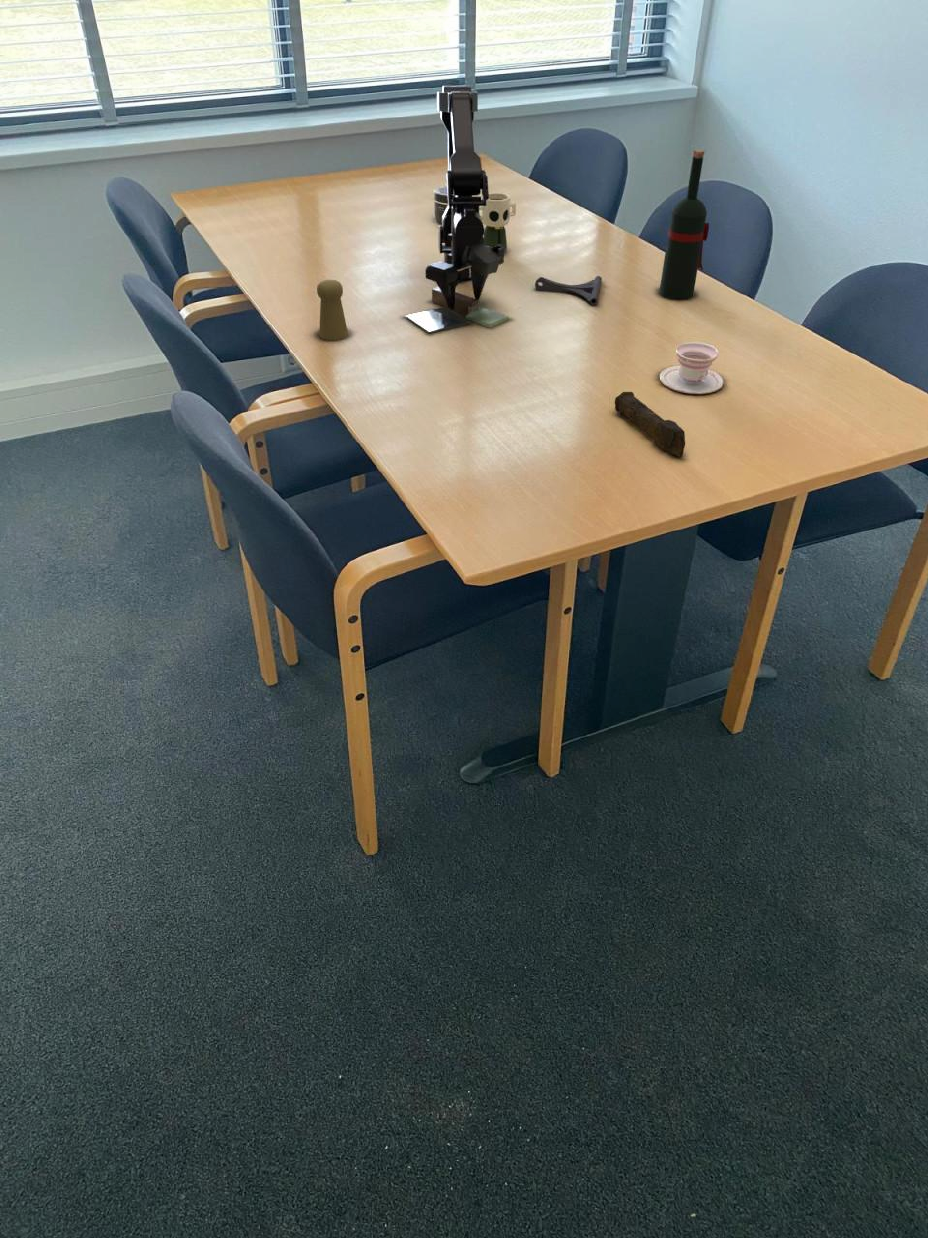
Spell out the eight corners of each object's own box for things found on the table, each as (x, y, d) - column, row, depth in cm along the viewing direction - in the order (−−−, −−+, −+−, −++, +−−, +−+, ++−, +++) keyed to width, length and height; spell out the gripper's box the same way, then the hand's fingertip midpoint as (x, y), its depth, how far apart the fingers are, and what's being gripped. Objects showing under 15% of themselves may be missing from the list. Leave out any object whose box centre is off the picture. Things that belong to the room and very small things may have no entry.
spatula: (426, 304, 204) (426, 290, 202) (445, 297, 208) (445, 283, 206) (489, 327, 194) (490, 313, 192) (508, 319, 198) (508, 306, 196)
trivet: (405, 317, 198) (405, 315, 198) (445, 308, 202) (445, 306, 202) (429, 333, 192) (429, 331, 191) (469, 324, 196) (469, 321, 195)
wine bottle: (708, 294, 210) (734, 151, 191) (673, 302, 207) (696, 157, 187) (686, 283, 216) (709, 143, 196) (652, 290, 212) (672, 148, 193)
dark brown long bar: (612, 412, 165) (614, 388, 162) (631, 408, 166) (634, 385, 163) (666, 462, 152) (671, 437, 149) (687, 458, 153) (692, 433, 150)
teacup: (709, 401, 169) (716, 369, 165) (649, 385, 174) (654, 354, 170) (731, 377, 177) (738, 346, 173) (673, 362, 182) (678, 332, 178)
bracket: (538, 278, 218) (539, 266, 216) (601, 282, 215) (602, 270, 214) (530, 300, 207) (531, 288, 205) (597, 305, 205) (598, 293, 203)
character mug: (479, 257, 228) (480, 202, 220) (469, 248, 233) (469, 194, 225) (519, 252, 231) (522, 198, 223) (508, 244, 236) (510, 190, 228)
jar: (477, 218, 253) (477, 189, 248) (457, 228, 246) (458, 197, 241) (447, 212, 257) (447, 183, 252) (427, 221, 250) (426, 191, 245)
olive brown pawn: (352, 331, 192) (349, 278, 185) (340, 342, 188) (336, 288, 181) (326, 327, 194) (322, 274, 187) (314, 337, 189) (308, 284, 182)
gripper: (462, 249, 181) (462, 326, 191) (523, 228, 192) (520, 302, 202) (423, 236, 187) (424, 311, 197) (484, 216, 197) (482, 289, 207)
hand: (464, 303), depth 200 cm, fingers open, 8 cm apart
